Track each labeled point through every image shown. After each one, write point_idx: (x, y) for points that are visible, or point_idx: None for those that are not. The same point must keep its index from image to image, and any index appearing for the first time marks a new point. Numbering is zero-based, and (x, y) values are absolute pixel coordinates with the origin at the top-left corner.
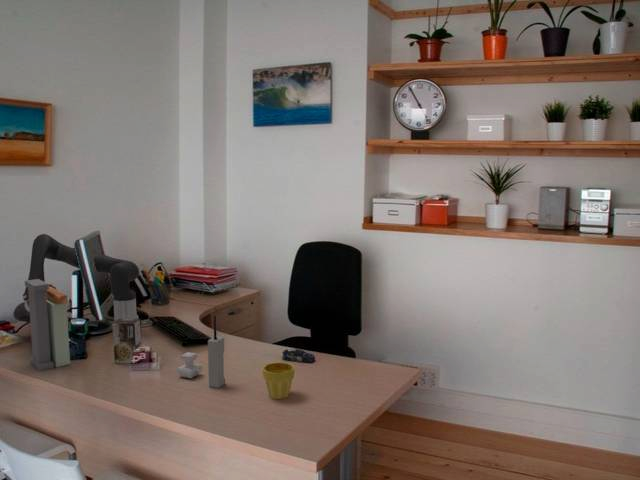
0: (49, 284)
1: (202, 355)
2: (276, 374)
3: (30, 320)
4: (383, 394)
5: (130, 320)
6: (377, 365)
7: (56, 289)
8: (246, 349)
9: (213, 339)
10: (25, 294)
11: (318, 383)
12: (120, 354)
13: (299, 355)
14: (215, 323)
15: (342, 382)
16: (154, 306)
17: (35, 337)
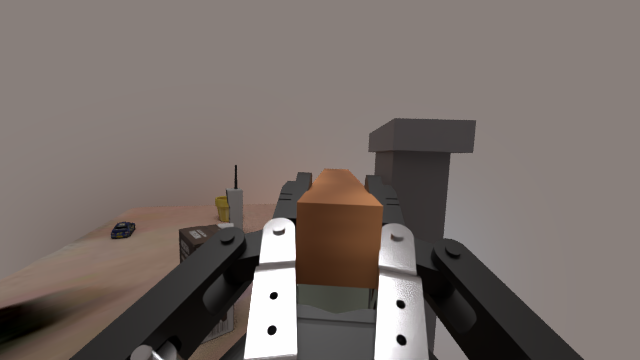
0: (311, 173)
1: (127, 278)
2: None
3: (433, 321)
4: (195, 206)
5: (201, 230)
6: (128, 214)
7: (130, 314)
8: (76, 264)
9: (237, 189)
10: (557, 354)
11: (190, 217)
12: None
13: (132, 224)
14: (236, 172)
15: (181, 214)
16: None
17: None
